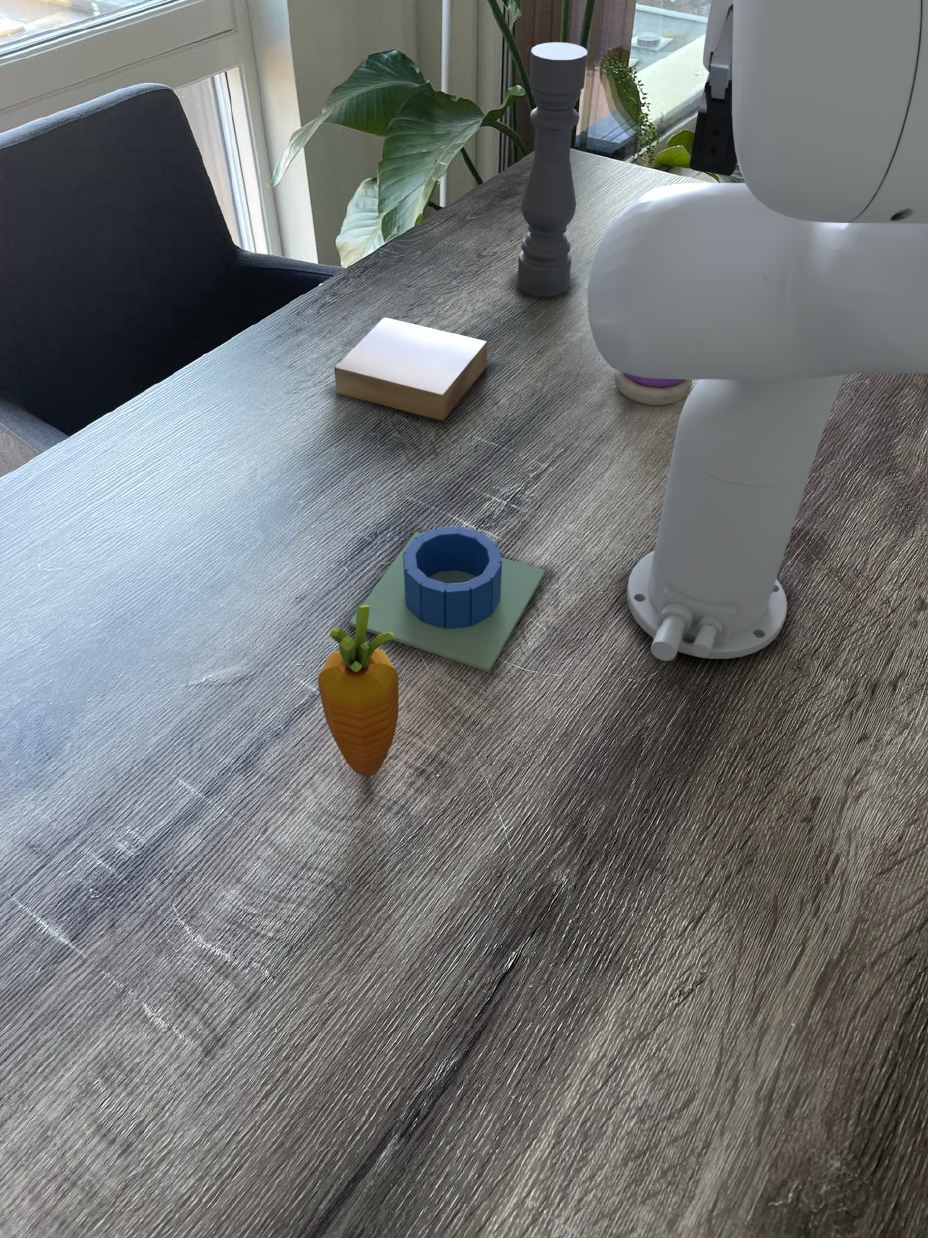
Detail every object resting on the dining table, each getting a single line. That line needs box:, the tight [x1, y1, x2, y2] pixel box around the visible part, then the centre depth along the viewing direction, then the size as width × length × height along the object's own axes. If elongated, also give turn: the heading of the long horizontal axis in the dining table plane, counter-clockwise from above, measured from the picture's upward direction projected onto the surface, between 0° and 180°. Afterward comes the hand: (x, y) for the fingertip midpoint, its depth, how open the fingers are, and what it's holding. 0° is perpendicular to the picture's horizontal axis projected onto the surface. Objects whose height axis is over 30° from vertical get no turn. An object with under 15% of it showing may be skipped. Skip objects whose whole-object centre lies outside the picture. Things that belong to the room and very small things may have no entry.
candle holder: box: [516, 41, 588, 298], centre depth 109 cm, size 6×6×25 cm
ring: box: [403, 525, 502, 629], centre depth 79 cm, size 8×8×4 cm
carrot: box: [317, 604, 400, 778], centre depth 63 cm, size 5×5×15 cm
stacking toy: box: [613, 369, 693, 406], centre depth 96 cm, size 8×8×19 cm
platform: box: [333, 317, 488, 422], centre depth 103 cm, size 11×12×3 cm
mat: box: [348, 531, 546, 673], centre depth 81 cm, size 12×12×1 cm
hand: (727, 147), depth 74 cm, fingers open, 9 cm apart
